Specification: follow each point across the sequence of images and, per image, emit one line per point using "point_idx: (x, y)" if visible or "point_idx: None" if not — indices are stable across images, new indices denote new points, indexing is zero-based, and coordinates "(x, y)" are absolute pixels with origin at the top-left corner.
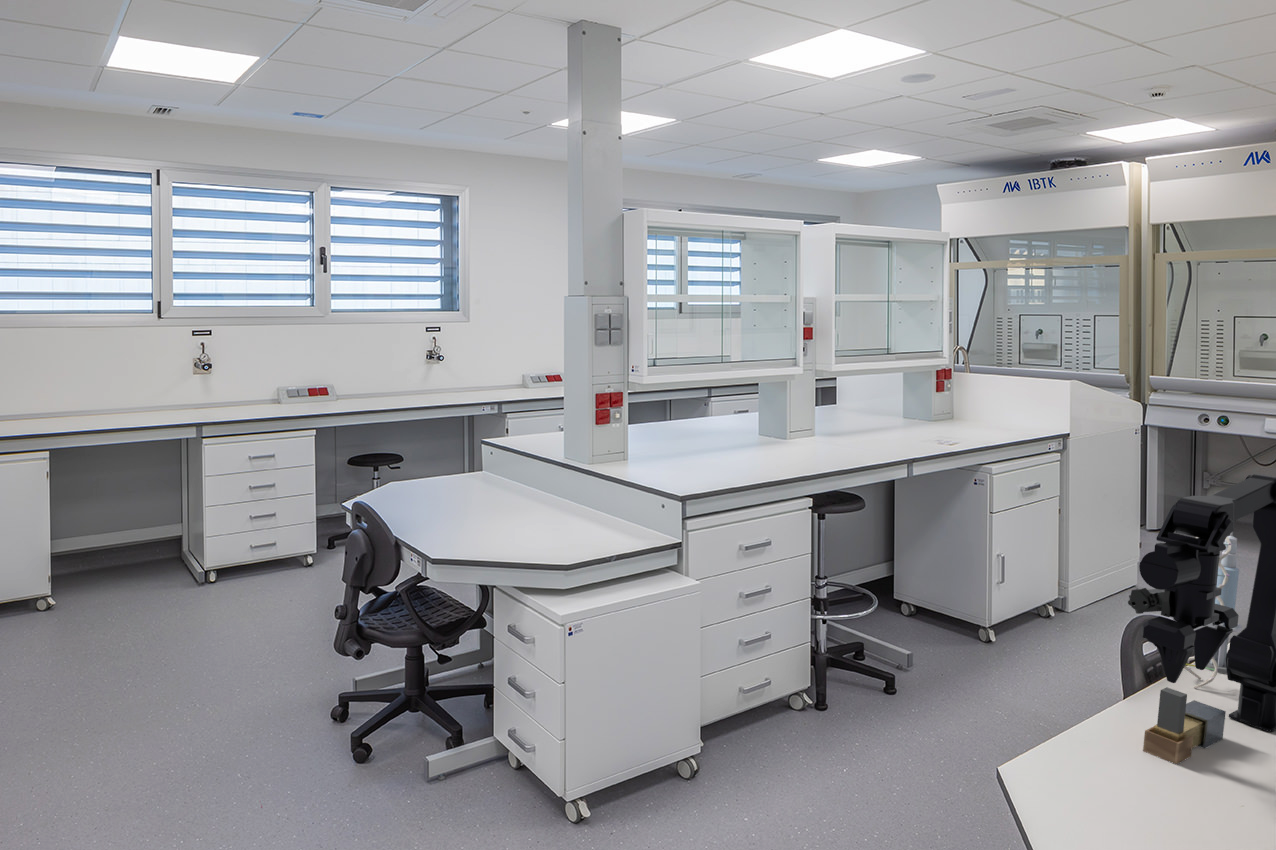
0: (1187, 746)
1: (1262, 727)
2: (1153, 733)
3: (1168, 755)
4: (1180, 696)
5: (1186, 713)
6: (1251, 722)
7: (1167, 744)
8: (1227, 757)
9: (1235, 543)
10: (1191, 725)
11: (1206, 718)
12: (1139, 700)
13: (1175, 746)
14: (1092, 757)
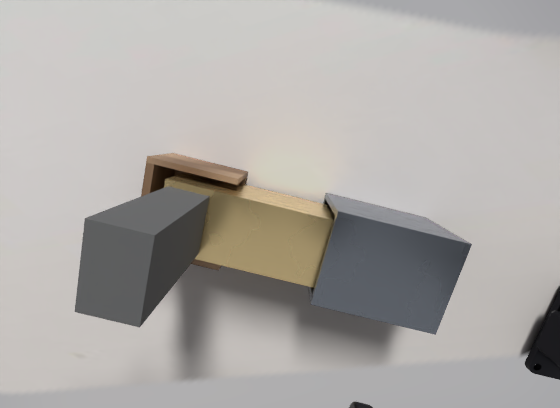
0: None
1: (533, 354)
2: (145, 181)
3: None
4: (80, 308)
5: (328, 243)
6: (540, 337)
7: None
8: (295, 308)
9: None
10: (258, 265)
11: (324, 299)
12: (548, 57)
13: None
14: (27, 60)
